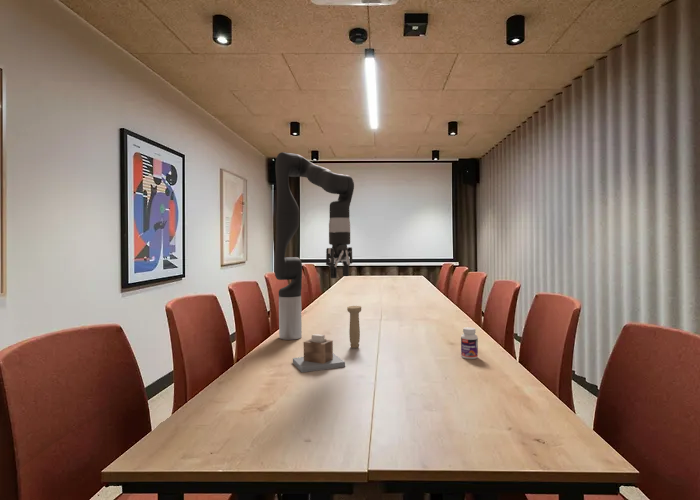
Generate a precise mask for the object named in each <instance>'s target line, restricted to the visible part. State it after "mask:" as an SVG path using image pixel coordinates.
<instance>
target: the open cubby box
mask: <svg viewBox="0 0 700 500" xmlns="http://www.w3.org/2000/svg"><path fill="white" fill-rule="evenodd" d="M333 341H334V340H331V339H327V338H325V342H324V343H317V342H312V338H310V339H308V340H304V341H303V357H304V361H309V362H315V363H322V364H324V363H326V362H328V361H330V360H332V359H333V354H334V353H333V351H334V348H333V347H334V346H333V345H334V344H333Z"/></svg>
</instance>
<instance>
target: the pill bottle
mask: <svg viewBox="0 0 700 500" xmlns="http://www.w3.org/2000/svg"><path fill="white" fill-rule="evenodd" d="M476 330H477V329H476V327H471V326H466V327H465V326H464V327H463V328H462V332H463V334H461V335H460V356H461V358H463V359H465V360H475V359H478V357H479V354H478V353H479V350H478V349H479V344H478V343H479V341H478V340H479V338H478V335H477V334H476Z"/></svg>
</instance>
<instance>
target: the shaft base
mask: <svg viewBox="0 0 700 500" xmlns="http://www.w3.org/2000/svg"><path fill="white" fill-rule="evenodd" d="M311 339H312V342H317V343H324V342H325V339H326V338H325V334H320V333H313V334H311ZM292 364H293V365H294V366H295V367H296V368H297V369H298V370H299V371H300V372H301V373H306V372H314V371H321V370H322V371H323V370H328V369H336V368H339V369H340V368H344V367H346V362H345V360H343V359H342V358H340V357H339V356H338V355H336V354H335V353H333V359H332V360H330V361H328V362H326V363H324V364H322V363H315V362H309V361H304V356H301V357H300V356H299V357H293V358H292Z"/></svg>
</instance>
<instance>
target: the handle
mask: <svg viewBox="0 0 700 500" xmlns="http://www.w3.org/2000/svg"><path fill="white" fill-rule="evenodd" d="M361 311H362V306H361V305H351V306H347V311H346V312H348V313H349V329H348V330H349V331H348V333H349V334H348V335H349V345H350V348H351V349H358V348H359V347H360V340H361V339H360V338H361V331H360V329H361V328H360V327H361V326H360V313H361Z"/></svg>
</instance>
